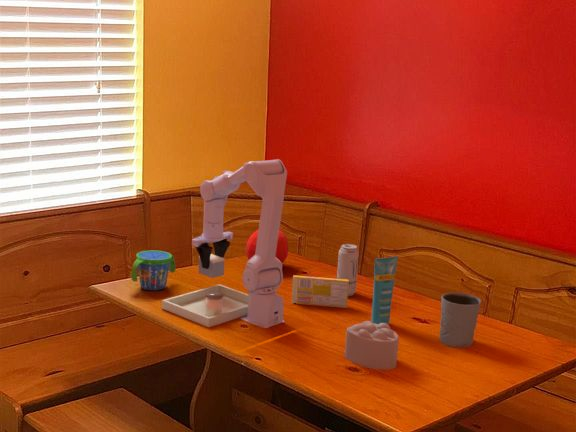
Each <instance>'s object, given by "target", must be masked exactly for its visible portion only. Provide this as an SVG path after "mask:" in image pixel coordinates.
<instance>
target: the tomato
mask: <svg viewBox="0 0 576 432" xmlns="http://www.w3.org/2000/svg"><path fill="white" fill-rule="evenodd" d="M258 230H259V228H258V229H256V230H255V231H254V232H253V233H252V234H251V235H250V236H249V238H248V240H247V243H246V248H245V252H246V256H247V259H248V261H249V260H250V259H251V258H252V257H253V256H254V255H255V252H256V244H257V237H258ZM288 254H289V242H288V238H287V236H286V235H285V234H284V232H283V231H282V230H280V229H279V234H278V241H277V248H276V255H275V257H276V258H277V259H279V260H280V261H281V263H282V264H284V262H285V261H286V260H287V258H288Z"/></svg>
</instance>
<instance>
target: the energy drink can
mask: <svg viewBox="0 0 576 432" xmlns="http://www.w3.org/2000/svg"><path fill="white" fill-rule="evenodd" d="M359 255H360V252H359V250H358V246H357V245H356V244H352V243H343V244H341V246H340V248H339V250H338V258H337V273H336V279H346V280H349V286H348V297H351V296H354V295H355V293H356V291H357V281H358V280H357V279H358V270H359V269H358V267H359Z"/></svg>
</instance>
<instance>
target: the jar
mask: <svg viewBox="0 0 576 432" xmlns="http://www.w3.org/2000/svg"><path fill="white" fill-rule="evenodd" d="M222 305H223V293H222V292H219V291H209V292H206V312H205V316H207V317H211V316H214V315H218V314H221V313H222Z"/></svg>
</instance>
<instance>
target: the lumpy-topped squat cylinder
mask: <svg viewBox="0 0 576 432" xmlns="http://www.w3.org/2000/svg"><path fill="white" fill-rule="evenodd" d="M345 334H346V335H345V348H344V357H345V359H347V360H349V361H350V362H352V363H354V364H357V365H358V366H360V367H365V368H369V369H375V370H392V369H395V368H396V367H397V362H398V361H397V360H398V351H399V342H400V341H399V340H400V337H399V334H397V332H396V331H394V330H393V329H391V326H390V325H388V324H386V323H380V324H375V323H372V322H371V320H365V321H363V322H360V323H356V324H353V325H351V326H348V327H347V328H346V333H345Z"/></svg>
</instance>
